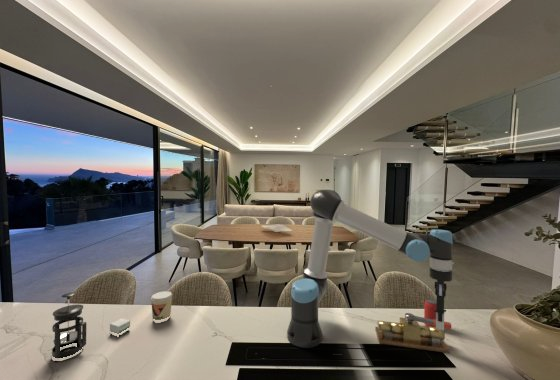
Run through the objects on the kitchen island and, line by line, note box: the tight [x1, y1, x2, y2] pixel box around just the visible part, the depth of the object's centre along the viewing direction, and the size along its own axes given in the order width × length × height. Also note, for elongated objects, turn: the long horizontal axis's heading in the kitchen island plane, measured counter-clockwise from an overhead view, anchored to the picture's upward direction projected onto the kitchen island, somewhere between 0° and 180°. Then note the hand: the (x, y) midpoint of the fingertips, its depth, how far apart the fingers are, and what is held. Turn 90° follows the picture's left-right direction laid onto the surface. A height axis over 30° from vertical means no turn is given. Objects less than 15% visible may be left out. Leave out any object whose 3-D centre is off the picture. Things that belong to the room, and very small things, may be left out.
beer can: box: [423, 297, 437, 327], centre depth 115 cm, size 7×7×12 cm
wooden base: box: [374, 317, 450, 354], centre depth 104 cm, size 26×10×9 cm, turn 77°
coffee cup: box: [150, 290, 173, 320], centre depth 119 cm, size 9×9×12 cm
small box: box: [109, 317, 131, 334], centre depth 108 cm, size 6×6×5 cm
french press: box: [51, 292, 87, 358], centre depth 94 cm, size 12×9×23 cm
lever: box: [404, 312, 452, 331], centre depth 101 cm, size 16×4×2 cm, turn 61°
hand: (439, 328), depth 97 cm, fingers closed
